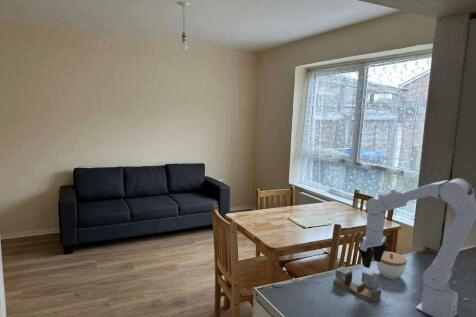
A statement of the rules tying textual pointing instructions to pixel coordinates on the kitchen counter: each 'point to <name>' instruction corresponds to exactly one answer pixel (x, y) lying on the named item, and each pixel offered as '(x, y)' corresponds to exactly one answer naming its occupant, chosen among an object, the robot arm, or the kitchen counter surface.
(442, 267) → the robot arm
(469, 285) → the kitchen counter surface
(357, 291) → the rail
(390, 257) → the lidded jar
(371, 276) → the block
